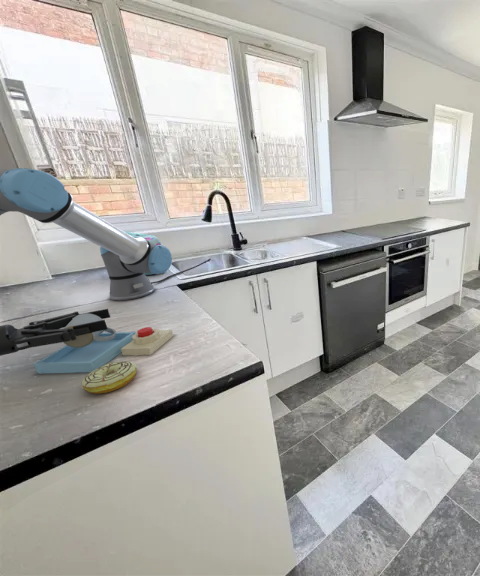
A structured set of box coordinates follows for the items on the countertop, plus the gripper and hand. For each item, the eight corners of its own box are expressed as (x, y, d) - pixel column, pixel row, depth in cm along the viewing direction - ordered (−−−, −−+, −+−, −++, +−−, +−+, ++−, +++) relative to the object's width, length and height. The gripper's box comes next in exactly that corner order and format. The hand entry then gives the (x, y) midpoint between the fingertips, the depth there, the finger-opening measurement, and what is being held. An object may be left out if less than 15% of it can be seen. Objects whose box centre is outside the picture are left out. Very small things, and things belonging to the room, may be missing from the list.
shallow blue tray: (91, 341, 97) (87, 333, 96) (138, 340, 98) (135, 331, 97) (37, 373, 82) (33, 364, 81) (94, 372, 82) (90, 362, 81)
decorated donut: (143, 365, 85) (139, 353, 83) (134, 388, 76) (129, 375, 75) (94, 376, 80) (89, 364, 79) (79, 402, 71) (73, 388, 70)
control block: (148, 336, 100) (144, 325, 98) (173, 335, 100) (170, 324, 99) (122, 355, 90) (118, 343, 88) (150, 354, 90) (146, 342, 88)
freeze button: (144, 332, 95) (142, 327, 95) (156, 331, 95) (154, 326, 95) (135, 338, 92) (134, 332, 91) (148, 337, 92) (146, 332, 91)
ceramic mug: (63, 352, 85) (53, 327, 82) (77, 338, 92) (68, 314, 89) (111, 344, 89) (103, 320, 86) (121, 331, 96) (113, 309, 93)
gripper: (12, 338, 88) (114, 317, 100) (-18, 375, 71) (108, 344, 84) (0, 314, 85) (106, 295, 97) (-34, 347, 69) (99, 320, 81)
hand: (107, 318), depth 91 cm, fingers closed on ceramic mug, 9 cm apart
